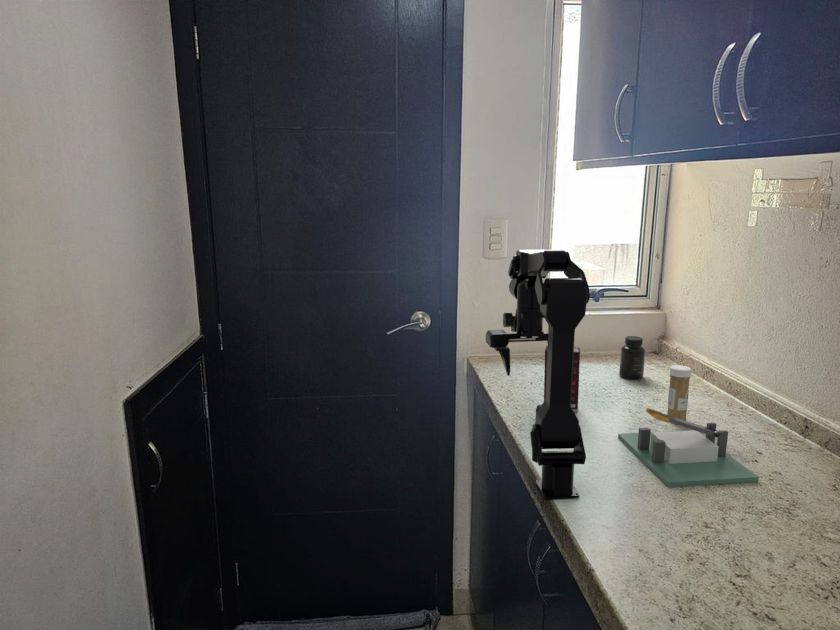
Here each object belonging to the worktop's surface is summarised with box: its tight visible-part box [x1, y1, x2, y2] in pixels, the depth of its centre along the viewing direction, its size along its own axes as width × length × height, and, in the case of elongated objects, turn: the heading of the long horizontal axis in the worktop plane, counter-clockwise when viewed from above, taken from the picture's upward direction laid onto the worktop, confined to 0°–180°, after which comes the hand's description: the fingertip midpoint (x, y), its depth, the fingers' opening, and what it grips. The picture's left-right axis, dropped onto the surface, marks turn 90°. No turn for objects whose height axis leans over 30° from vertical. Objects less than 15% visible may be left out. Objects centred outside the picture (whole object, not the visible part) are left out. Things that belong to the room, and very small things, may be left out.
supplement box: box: [543, 345, 581, 413], centre depth 145 cm, size 9×5×16 cm, turn 74°
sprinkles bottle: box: [666, 364, 692, 421], centre depth 137 cm, size 5×5×14 cm
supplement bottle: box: [618, 335, 646, 381], centre depth 169 cm, size 7×7×12 cm
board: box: [617, 422, 760, 488], centre depth 118 cm, size 22×18×6 cm
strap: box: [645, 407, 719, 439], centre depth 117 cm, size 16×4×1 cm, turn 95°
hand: (528, 374), depth 129 cm, fingers open, 9 cm apart
